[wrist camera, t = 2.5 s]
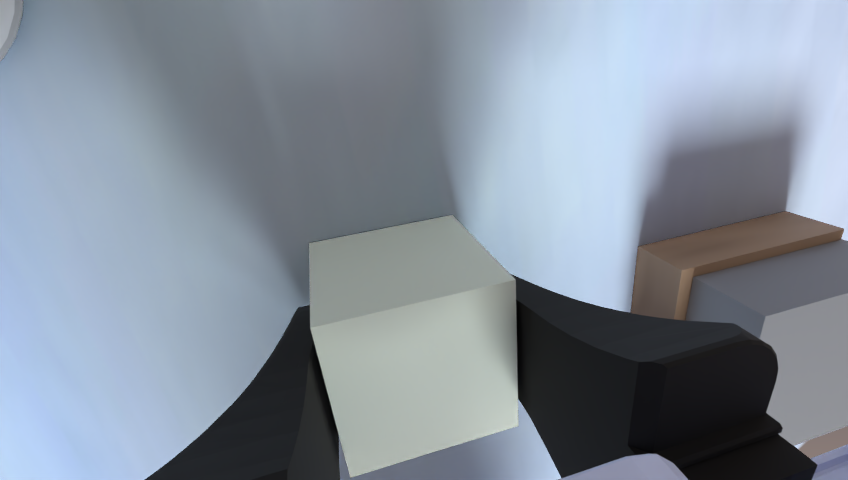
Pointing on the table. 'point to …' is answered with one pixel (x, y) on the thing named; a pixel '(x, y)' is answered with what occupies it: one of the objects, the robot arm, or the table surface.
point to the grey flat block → (791, 329)
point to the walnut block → (716, 257)
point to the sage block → (413, 340)
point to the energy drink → (9, 23)
